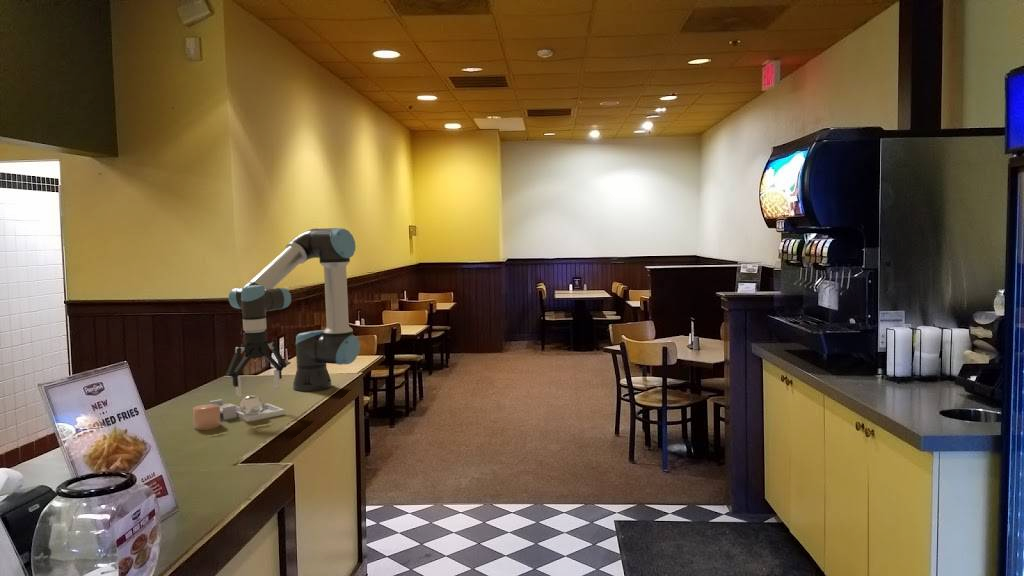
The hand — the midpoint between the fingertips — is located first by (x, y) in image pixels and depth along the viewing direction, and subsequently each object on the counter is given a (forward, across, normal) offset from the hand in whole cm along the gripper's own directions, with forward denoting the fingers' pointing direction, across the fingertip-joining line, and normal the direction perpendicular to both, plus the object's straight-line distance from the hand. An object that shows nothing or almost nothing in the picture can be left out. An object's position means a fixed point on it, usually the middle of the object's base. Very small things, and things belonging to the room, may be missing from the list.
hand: (258, 392), depth 243 cm
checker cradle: (+8, +10, -8) cm, 15 cm away
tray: (+8, 0, 0) cm, 9 cm away
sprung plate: (+6, +9, -8) cm, 14 cm away
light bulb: (+6, -2, -2) cm, 7 cm away
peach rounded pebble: (+8, +18, +2) cm, 20 cm away
